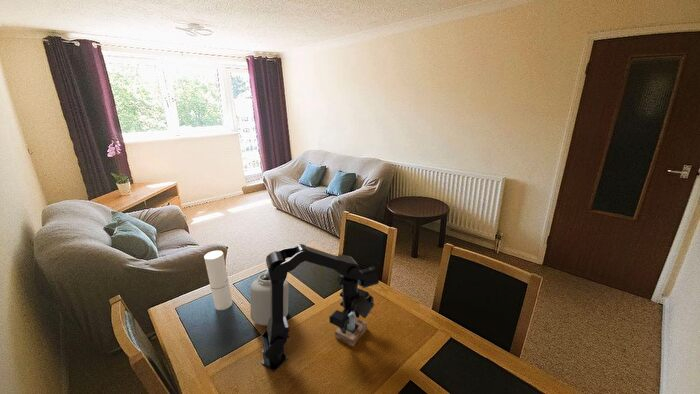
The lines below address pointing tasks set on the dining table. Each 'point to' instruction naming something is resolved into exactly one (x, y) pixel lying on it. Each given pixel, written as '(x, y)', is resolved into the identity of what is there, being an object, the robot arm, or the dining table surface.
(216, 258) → the cylindrical container
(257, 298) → the jar
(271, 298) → the robot arm
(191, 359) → the dining table surface
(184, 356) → the dining table surface
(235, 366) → the dining table surface
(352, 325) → the dowel
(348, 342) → the socket block
